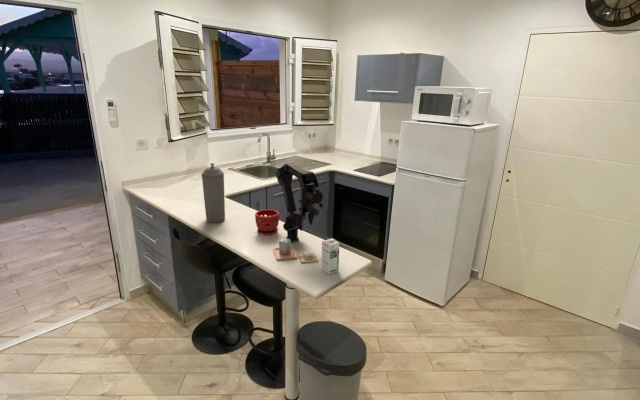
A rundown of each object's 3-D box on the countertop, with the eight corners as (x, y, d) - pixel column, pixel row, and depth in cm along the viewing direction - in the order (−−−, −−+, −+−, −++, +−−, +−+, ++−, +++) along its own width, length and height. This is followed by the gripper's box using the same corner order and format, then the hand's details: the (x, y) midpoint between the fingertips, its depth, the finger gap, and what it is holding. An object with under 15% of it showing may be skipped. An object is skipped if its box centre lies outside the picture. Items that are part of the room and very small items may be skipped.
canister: (216, 214, 221) (212, 160, 210) (231, 219, 215) (228, 163, 204) (200, 220, 211) (195, 163, 200) (215, 225, 205) (211, 166, 194)
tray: (273, 249, 177) (273, 247, 177) (292, 247, 180) (292, 246, 180) (276, 260, 166) (276, 258, 166) (297, 258, 169) (297, 256, 169)
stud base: (298, 255, 172) (298, 251, 171) (313, 254, 174) (313, 249, 173) (301, 263, 165) (301, 258, 164) (318, 261, 167) (318, 257, 166)
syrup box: (328, 274, 156) (329, 245, 151) (320, 269, 160) (321, 240, 156) (338, 271, 159) (340, 242, 154) (330, 265, 163) (331, 237, 159)
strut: (279, 253, 172) (279, 240, 170) (283, 250, 176) (283, 237, 174) (286, 255, 171) (286, 242, 168) (290, 252, 174) (290, 239, 172)
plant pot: (283, 231, 200) (283, 211, 196) (269, 239, 189) (268, 218, 185) (265, 226, 206) (265, 207, 202) (250, 233, 195) (250, 213, 191)
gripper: (311, 206, 158) (310, 237, 163) (330, 195, 173) (329, 225, 178) (290, 201, 163) (290, 232, 168) (311, 191, 178) (310, 220, 183)
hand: (306, 227), depth 174 cm, fingers open, 9 cm apart
